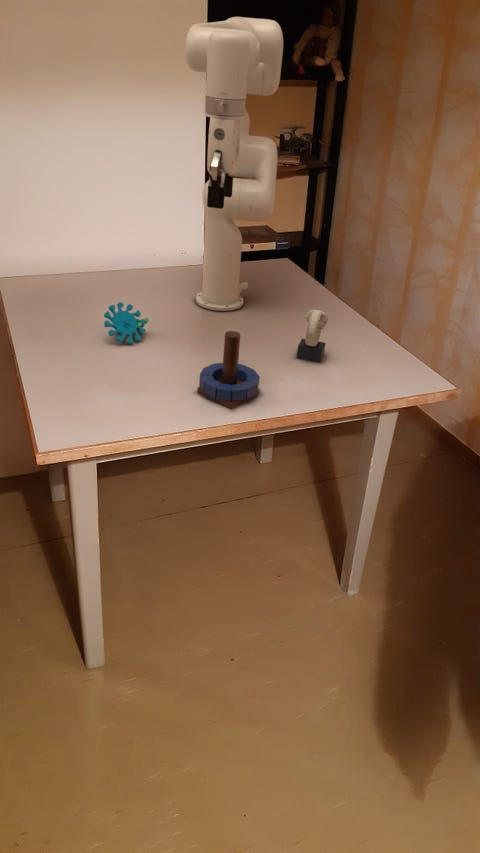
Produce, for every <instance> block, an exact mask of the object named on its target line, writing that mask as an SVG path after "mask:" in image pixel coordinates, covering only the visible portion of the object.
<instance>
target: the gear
mask: <svg viewBox="0 0 480 853" xmlns="http://www.w3.org/2000/svg"><path fill="white" fill-rule="evenodd" d="M124 305H125V304H124V303H123V302H121V301H119V302H117V304H116V306H115V304H110V305H109V306H108V310H109V311H105V313H104V314H103V317H104V318H106V319H107V320H105V321H104V323H103V327H104V328H112V329H109V330H108V332H107V333H108V335H109V337H113V336H114V335H117V334H120V335H118V336H117V337H116V339H115V340H116V342H118V343H120V344H121V343H122V342H123V341H124V337H125V336H127V337H128V338H127V339H125V343H126V344H128V345H132V344H133V342H134V341H135V342H140V341H141V339H142V335H144V334H145V333H146V329H145V328H144V327H145V325H147V323H148V322H149V321H150V319H149V317H144V318H142V319H141V318H140V319H139V317H141V315H142V313H141V311H140V310H136V311H135V312H129V311H132V310H133V309H134V306H133V305H132V304H131V303H128V304H127V306H126V309H125V310H123V309H122V308H123V307H124ZM116 307H117V312H116ZM111 314H112V315H111ZM109 320H110V321H109ZM138 332H139V333H138ZM139 334H140V335H139ZM133 335H134V341H133Z"/></svg>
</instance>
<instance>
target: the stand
mask: <svg viewBox="0 0 480 853" xmlns="http://www.w3.org/2000/svg"><path fill="white" fill-rule="evenodd" d="M240 345H241V332H239V331H237V330H228V331H225V332H224V343H223V357H222V363H223V370H222V378H220V379H217V380H216V381H218V382H220V383H224V384H230V385H233V384H241V383H243V382H242V381H240V380H238V379H237V372H238V364H239V360H240V359H239V358H240ZM260 390H261V389H260V388H258V391H257V394H256V395H254V396H252V397H250V398H248V399H245V400H237V401H232V400H231V401H227V400H221V399H216V398H213V397H211V396H209V395H207V394H205V393H204V392H203V391H202V389H201V388H200V386H198V387H197V389H196V393H197V394H198V395H201V396H203V397H204V398H206V399H209V400H211V401H213V402H215V403H217V404H219V405H221V406H223V407H225V408H227V409H229V410H233V409H235V408H237V407H238V406H240V405H242V404H244V403H245V402H247V401H250V400H251V399H252V398H254V397H256V396H258V395H259V394H260Z"/></svg>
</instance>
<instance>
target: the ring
mask: <svg viewBox="0 0 480 853" xmlns="http://www.w3.org/2000/svg"><path fill="white" fill-rule="evenodd" d="M222 370H223V362H216V363H214V362H213V363H212V364H209V365H207V366H205V367H203V368H202V369H201V372H200V374H199V384H198V385H199V386H198V387H200V388H201V389H202V391H203V392H204V393H205V394H207V395H209V396H211V397H213V398H216V399H221V400H227V401H231V400H232V401H237V400H245V399H248V398H250V397H252V396H254V395H256V394H257V391H258V388H259V387H260V375H259V373H257V371H256V370H255V369H254V368H251V367H250V366H247V365H246V364H242V363H238V372H237V379H238V380H240V381H242V382H243V383H241V384H233V385H230V384H224V383H220V382H218V381H216V380H217V379H220V378H222ZM259 389H260V388H259ZM256 396H257V395H256ZM254 397H255V396H254ZM252 398H253V397H252Z"/></svg>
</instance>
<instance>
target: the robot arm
mask: <svg viewBox="0 0 480 853" xmlns="http://www.w3.org/2000/svg"><path fill="white" fill-rule="evenodd" d="M283 54H284V36H283V31H282V28H281V26H280V24H279V23H278V22H277V21H276V20H273V19H269V18H255V17H243V16H232V17H229V18H227V19H226V20H221V21H213V22H212V21H211V22H200V23H195V24H193V25H191V26H190V28H189V30H188V32H187V35H186V38H185V42H184V57H185V61H186V64H187V66H188V68H189V69H190V70H191V71H193V72H196V73H206V78H205V102H204V116H205V117H207V118H209V128H208V139H207V140H208V142H207V159H206V160H207V163H206V164H207V166H206V167H207V172H208V173H209V178H208V180H207V181H206V182H205V184H204V185H203V190H202V206H203V215H204V216H203V217H204V238H203V239H204V240H203V260H202V261H203V262H202V282H201V283H202V284H201V291H200V292H198V293H197V294H196V295H195V303H196V304H197V305H198V306H200V307H201V308H204V309H206V310H210V311H215V312H216V311H217V312H229V311H235V310H238V309H240V308H241V307H243V306H244V298H243V297H242V295H241V292H242V291H244V290H247V289H249V283H248V282H246V281H243V282H241V283H240V275H241V259H242V248H243V237H242V233H241V230H240V229H239V227H238V226H237V224H236V223H235V222H234V221H245V222H246V221H247V222H259V223H263V222H268V221H269V220H270V219H271V218H272V216H273V213H274V210H275V203H276V202H275V201H276V187H277V186H276V185H277V174H278V148H277V145H276V143H275V141H274V140H273V139H272V138H270V137H267V136H257V135H250V122H251V118H250V115H249V113H248V111H247V109H246V104H247V95H254V96H266V97H267V96H272V95H273V94H275V93H276V92H277V90H278V88H279V87H280V86H279V85H280V80H281V74H282V73H281V72H282V65H283V64H282V62H283ZM239 177H240V178H239ZM246 178H250V179H246ZM251 178H252V179H251Z"/></svg>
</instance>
